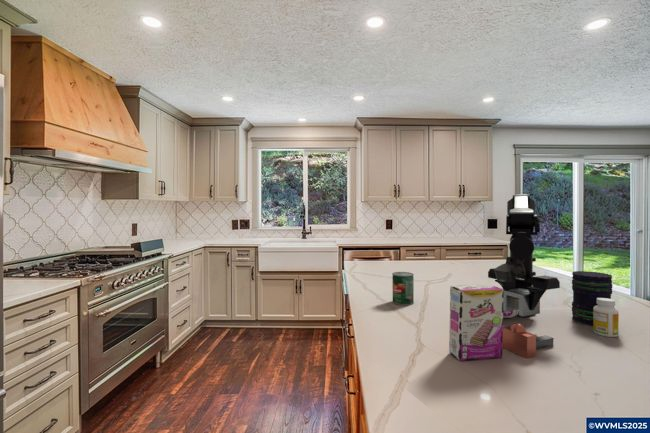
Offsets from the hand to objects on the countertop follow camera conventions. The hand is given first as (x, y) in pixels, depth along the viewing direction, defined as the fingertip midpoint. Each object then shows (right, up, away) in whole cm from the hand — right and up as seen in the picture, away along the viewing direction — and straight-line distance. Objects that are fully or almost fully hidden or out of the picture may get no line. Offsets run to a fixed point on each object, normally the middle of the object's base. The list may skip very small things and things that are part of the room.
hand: (520, 307), depth 97 cm
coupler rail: (-6, -6, -14) cm, 16 cm away
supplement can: (-11, -2, +11) cm, 16 cm away
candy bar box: (-22, -7, -18) cm, 29 cm away
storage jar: (+26, -7, +6) cm, 27 cm away
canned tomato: (-28, -6, +29) cm, 40 cm away
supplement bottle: (+21, -7, -4) cm, 23 cm away
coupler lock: (0, -1, 0) cm, 1 cm away
